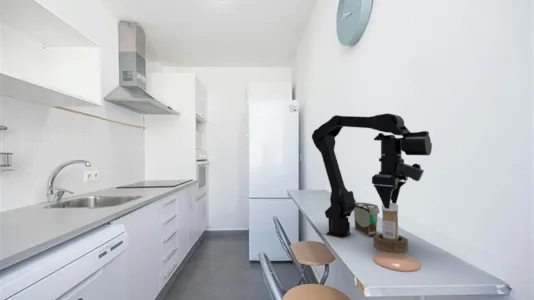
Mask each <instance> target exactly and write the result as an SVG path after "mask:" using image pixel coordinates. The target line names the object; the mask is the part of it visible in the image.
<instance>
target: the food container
mask: <svg viewBox="0 0 534 300" xmlns="http://www.w3.org/2000/svg"><path fill="white" fill-rule="evenodd" d="M378 214H380V208H379V206H378V205H377V204H374V203H370V202H369V203H368V202H357V201H356V202H355V208H354V210H353V217H354V228H355V230H356V231H357V232H360V233H361V234H363V235H365V236H367V237H368V238H370V237H373V236H374V235H376V234H377V227H378V226H377V223H378Z"/></svg>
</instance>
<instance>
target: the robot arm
mask: <svg viewBox="0 0 534 300" xmlns="http://www.w3.org/2000/svg"><path fill="white" fill-rule="evenodd" d="M344 127H345V128H358V129H359V128H360V129H361V128H362V129H371V130H374V131H377V132H379V133H378V134H377V135H376V136H375V137H374V138H373V141H379V142H380V157H378V162H380V170H379V172H378V173H376V174H374V175H373V176H372V177H371V184H372V185H373V187H374V188H375V190H376V192H377V194H378V196H379V198H380V200H381V204H382V203H383V205H384V207H385V208H387V209H389V206H390V203H395V204H398V199H399V195H400V191H401V188H402V186H404V185H406V183H407V181H408V180H409V179H412V180H413V181H416V182H419V181H420V180H421V178H422V176H423V175H424V172H425V170H424V169H422V168H421V164H419V163H413V164H412V165H410V164H406V163H405V159H404V158H402V153H404V154H405V155H406V156H430V155H431V153H432V149H433V148H432V147H433V143H432V141H431V137H430V132H429V131H427V130H422V131H416V132H415V131H414V132H413V131H412V132H411V131H410V130H409V128H407V126H406V125H405V121H404V118H402V116H400V115H398V114H394V113H383V114H375V115H373V116H355V115H354V116H349V115H348V116H347V115H340V114H339V115H338V114H337V115H336V114H335V115H333V116H332V117H331V118H330V119H328V121H325V122H324V123H322V124H320V126H319V127H317V128H315V130H313V132H312V134H311V139H312V141H313V143H314V146H315V148H316V149H317V150H318V151H319V153H321V157H322V158H321V159H322V161H323V165H324V169H325V172H326V176H327V179H328V183H329V187H330V191H331V192H330V198H329V202H330V206H329V207H328V208H327V209H326V210H325V211H324V214H325V218H327V219H328V231H327V232H326V235H328V236H332V237H337V238H341V239H343V238H346V237H347V236H349V235H351V225H350V223H351V222H350V221H349V217H351V214H352V212H354V208H355V202H357V201H356V199H355V196H354V193H353V190H350V191H349V190H348V189H347V188H346V186H345V183H344V179H343V176H342V173H341V169H340V165H339V161H338V159H337V156H336V152H335V145H336V139H335V138H336V137H337V136H338V135H339V134H340V132H341V130H342V129H343V128H344ZM381 132H382V133H381ZM384 133H388V134H384ZM396 136H400V137H396ZM408 178H409V179H408Z"/></svg>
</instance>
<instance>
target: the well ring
mask: <svg viewBox="0 0 534 300" xmlns="http://www.w3.org/2000/svg"><path fill="white" fill-rule="evenodd" d="M372 237H373V247H374V248H376V249H377V250H378V251H381V252H395V253H400V254H406V253H407V251H408V249H409V239H408V238H406V237H404V236H403V235H400V234H398V241H393V242H392V241H387V240H383V232H382V233H381V232H379V233H376V235H374V236H372Z"/></svg>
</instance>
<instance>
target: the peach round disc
mask: <svg viewBox="0 0 534 300" xmlns="http://www.w3.org/2000/svg"><path fill="white" fill-rule="evenodd" d="M373 262H374V263H375V264H376V265H377V266H379V267H381V268H384V269H387V270H390V271H393V272H400V273H413V272H418V271H420V269H421V262H420V261H419V260H418V259H417V258H415V257H412V256H410V255H407V254H406V253H395V252H384V251H381V252H376V253H375V254H374V255H373Z"/></svg>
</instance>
